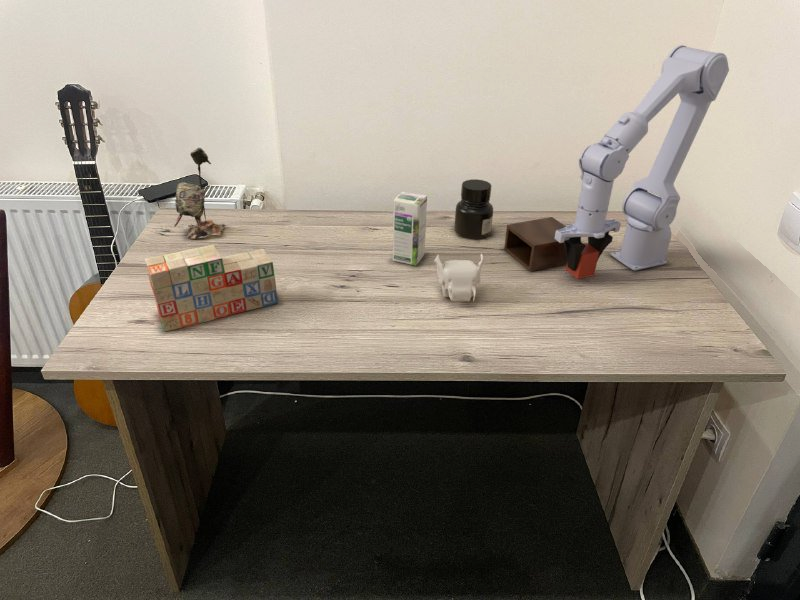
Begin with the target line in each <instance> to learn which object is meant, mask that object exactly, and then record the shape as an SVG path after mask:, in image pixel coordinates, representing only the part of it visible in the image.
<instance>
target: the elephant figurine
mask: <svg viewBox="0 0 800 600" xmlns="http://www.w3.org/2000/svg"><path fill="white" fill-rule="evenodd" d="M440 259H441V258H440V255H439V253H438V254H436V257H435V258H434V260H433V262H434V263H435V264H436V274H437V277H438V284H439V285H441V291H442V296H443V297H444V298H450V301H451V302H471V298H473V301H472V302H475V299H476V293H477V284H478V285H480V284H481V272H482V266H483V260H484V256H483V253H481V254H480V261H479V262H478V264H475V263H474V262H473V261H472V260H468V259H453V260H452V259H451V260H450V259H449V260H446V261H444V262H443V263H442V261H441V260H440Z"/></svg>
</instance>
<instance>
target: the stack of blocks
mask: <svg viewBox="0 0 800 600" xmlns="http://www.w3.org/2000/svg"><path fill="white" fill-rule="evenodd" d="M144 260H145V265H146V268H147V276H148V279H149V284H150V288H151V290H152V293H153V297H154V301H155V305H156V310H157V313H158V316H159V319H160V322H161V325H162V328H163V331H164V332H169V331H173V330H178V329H181V328H186V327H191V326H194V325H197V324H202V323H206V322H209V321H214V320H217V319H220V318H224V317H228V316H231V315H235V314H239V313H243V312H247V311H252V310H256V309H260V308H264V307H268V306H272V305H275V304H278V302H279V301H278V293H277V281H276V276H275V269H274V262H273V260H272V259H271V257H270V256H269V255H268V254H267V252H266V250H265V249H264V248H260V249H256V250H255V249H254V250H249V251H244V252H240V253H235V254H231V255H226V256H222V255H221V254H220V252H219V251H218V250H217V247H216V246H215V245H214V244H209V245H204V246H199V247H195V248H189V249H184V250H182V251H176V252H172V253H166V254H161V255H156V256H151V257H147V258H144Z"/></svg>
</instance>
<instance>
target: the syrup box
mask: <svg viewBox="0 0 800 600" xmlns="http://www.w3.org/2000/svg"><path fill="white" fill-rule="evenodd" d="M392 207H393V209H392V212H393V213H392V220H393V221H392V223H393V224H392V262H398V263H401V264H406V265H412V266H417V265H418V264H419V263H420V261H421V260H422V258H423V257H424V256H425V253H426V251H425V250H426V229H427V211H428V209H427V207H428V195H425V194H417V193H412V192H407V191H401V192H400V193H399V194H398V195H397V196H396V197H395V198H394V199H393V206H392Z"/></svg>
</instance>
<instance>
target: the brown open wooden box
mask: <svg viewBox="0 0 800 600" xmlns="http://www.w3.org/2000/svg"><path fill="white" fill-rule="evenodd" d="M565 227H567V225H565V224H564V223H562V222H560V221H559V220H557V219H556V218H554V217H553V216H548V217H543V218H538V219H532V220H527V221H526V220H525V221H520V222H515V223H510V224H507V225H506V231H505V238H504V239H505V240H504V246H503V250H504V251H505V252H506V253H507V254H509V255H510V256H511V257H512V258H513V259H514V260H516V261H517V262H518V263H519V264H520V265H522V266H523V267H524V268H525V269H526V270H528V271H529V272H536V271H542V270H545V269H550V268H556V267H561V266H566V265H567V255H566V250H565V247H564V244H563V243H559V242H558V241H557V240H555V233H556V230H560V229H562V228H565ZM580 240H581V241H582V237H580Z"/></svg>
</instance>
